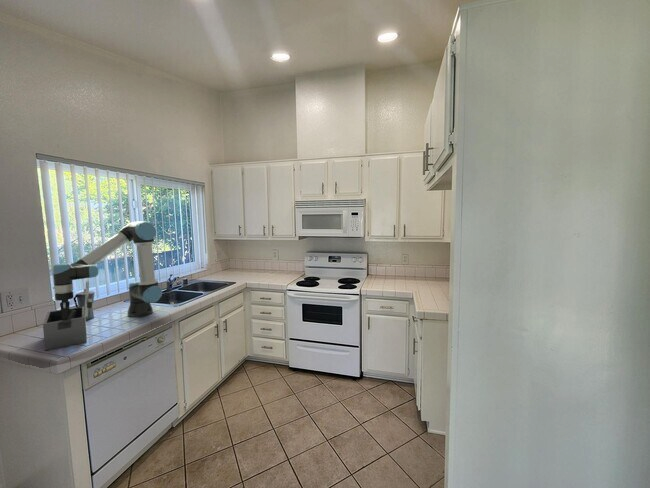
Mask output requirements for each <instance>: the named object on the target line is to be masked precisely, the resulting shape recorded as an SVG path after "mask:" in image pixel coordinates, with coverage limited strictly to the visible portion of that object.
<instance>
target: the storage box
mask: <svg viewBox="0 0 650 488" xmlns="http://www.w3.org/2000/svg"><path fill="white" fill-rule="evenodd" d="M71 310H75V311H77V313H76V314H75V317H74V319H68V320H62V311H61V309H57V310H52V311H51V310H50V311H47V313H46V315H45V317H44V321H43V323H42V328H43V331H42V332H43V340H44V341H43V342H44V343H43V344H44V351H45V352H47V351H52V350H57V349H63V348H66V347H67V348H68V347H73V346H77V345H81V344H86V343H88V342H87V341H88V340H87V339H88V338H87V336H88V335H87V320H86V317H85V306H84V307H79V306H78V308H76V307H74V308H73V307H72V308H71V307H70V308H69V313H71ZM60 320H62V321H60Z"/></svg>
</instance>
